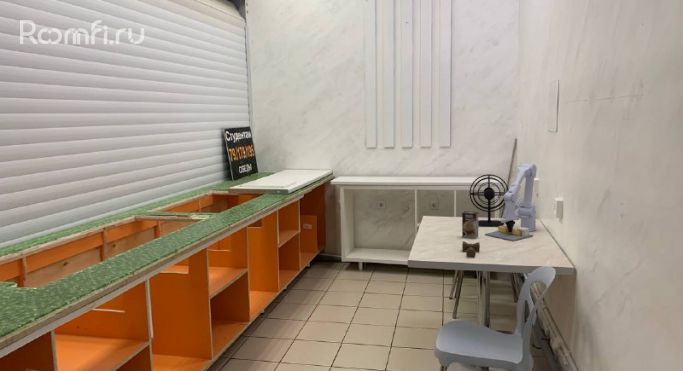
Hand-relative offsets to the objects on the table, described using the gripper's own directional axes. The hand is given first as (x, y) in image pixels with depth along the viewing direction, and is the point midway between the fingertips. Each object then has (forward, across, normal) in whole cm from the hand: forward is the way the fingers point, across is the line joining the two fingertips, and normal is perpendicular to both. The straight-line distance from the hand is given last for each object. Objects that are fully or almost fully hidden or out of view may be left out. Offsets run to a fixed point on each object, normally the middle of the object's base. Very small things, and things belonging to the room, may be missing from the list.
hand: (509, 232), depth 318 cm
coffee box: (+2, -21, +13) cm, 25 cm away
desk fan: (+2, +16, +31) cm, 35 cm away
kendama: (+3, -48, -13) cm, 50 cm away
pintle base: (+2, -1, 0) cm, 2 cm away
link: (+1, +3, +1) cm, 3 cm away
